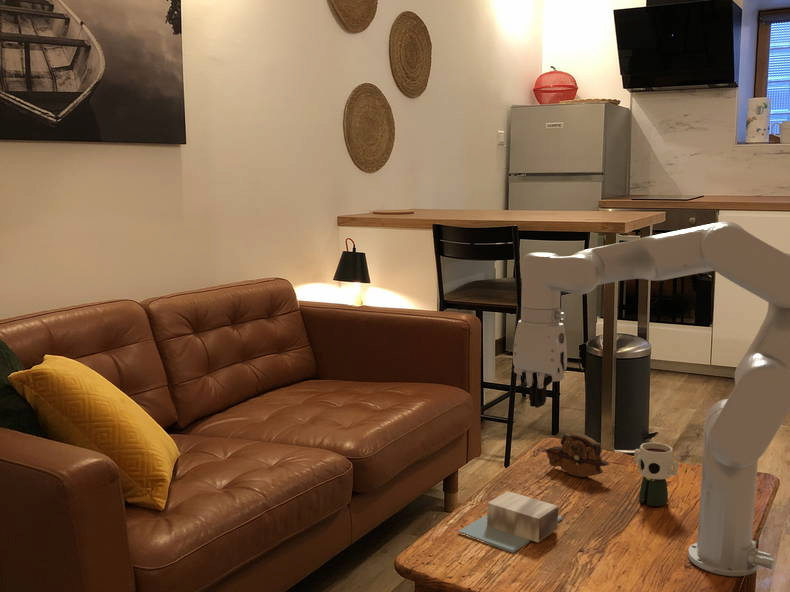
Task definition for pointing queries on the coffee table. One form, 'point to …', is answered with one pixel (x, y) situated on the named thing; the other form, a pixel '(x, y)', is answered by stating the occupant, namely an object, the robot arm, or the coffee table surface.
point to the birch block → (522, 516)
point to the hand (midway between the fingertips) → (537, 405)
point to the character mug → (655, 471)
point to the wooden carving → (577, 455)
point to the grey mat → (495, 535)
